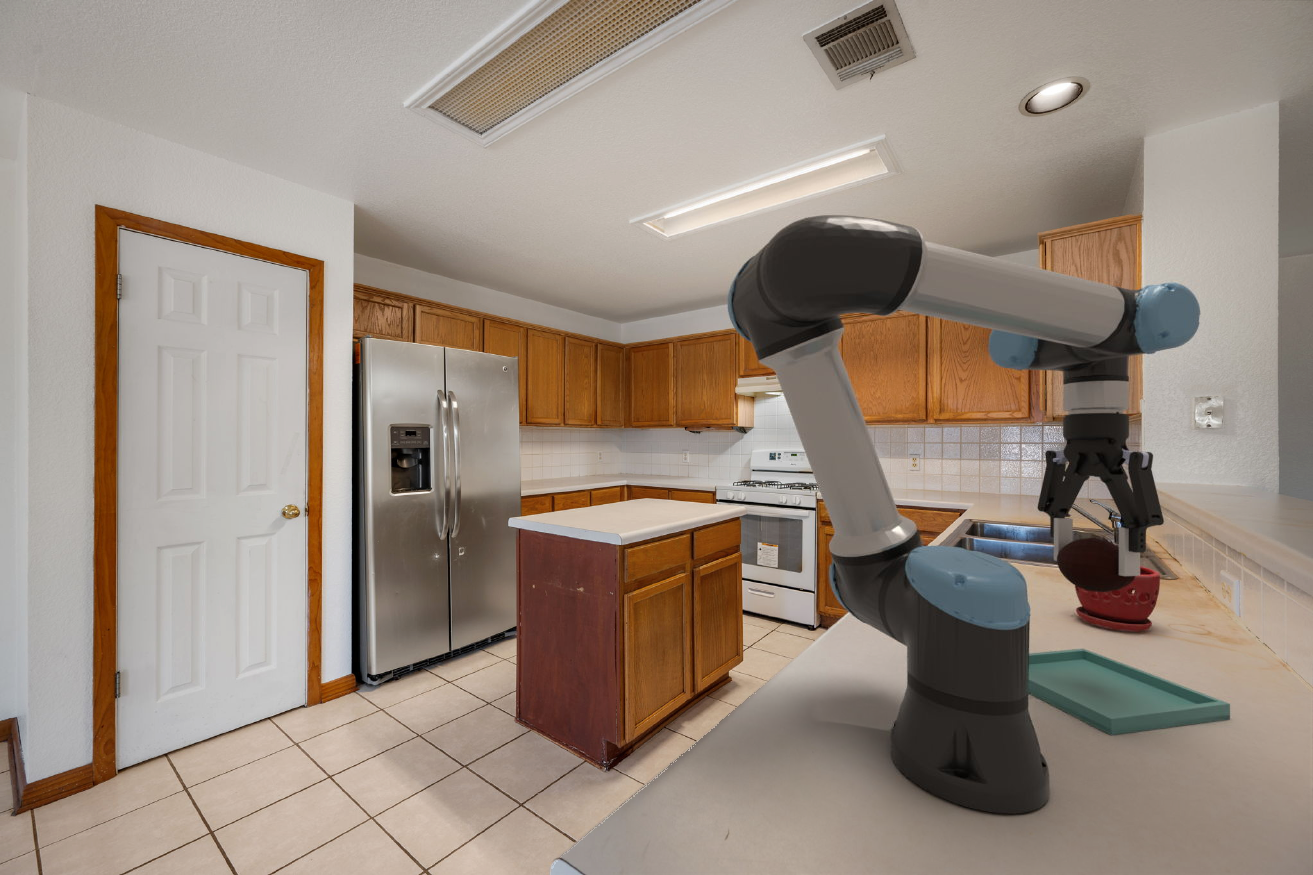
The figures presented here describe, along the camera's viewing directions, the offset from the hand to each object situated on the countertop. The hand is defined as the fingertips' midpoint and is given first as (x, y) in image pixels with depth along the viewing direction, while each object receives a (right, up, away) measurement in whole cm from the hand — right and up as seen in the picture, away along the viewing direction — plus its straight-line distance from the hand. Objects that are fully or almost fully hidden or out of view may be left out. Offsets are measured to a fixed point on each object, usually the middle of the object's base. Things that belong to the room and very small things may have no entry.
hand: (1094, 567), depth 79 cm
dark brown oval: (0, -4, 0) cm, 4 cm away
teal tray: (0, -18, 0) cm, 18 cm away
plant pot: (+28, -19, +29) cm, 45 cm away
